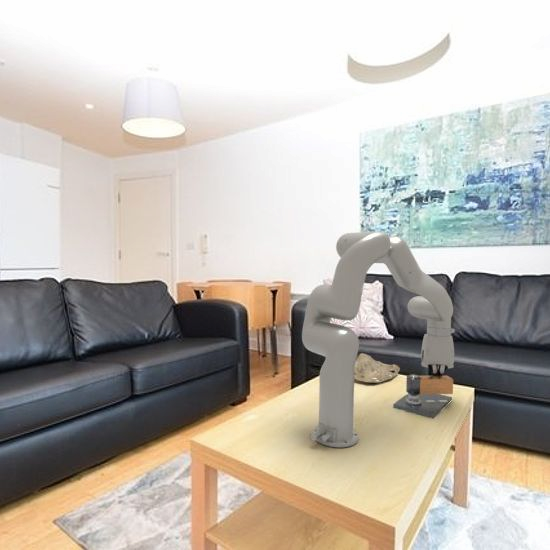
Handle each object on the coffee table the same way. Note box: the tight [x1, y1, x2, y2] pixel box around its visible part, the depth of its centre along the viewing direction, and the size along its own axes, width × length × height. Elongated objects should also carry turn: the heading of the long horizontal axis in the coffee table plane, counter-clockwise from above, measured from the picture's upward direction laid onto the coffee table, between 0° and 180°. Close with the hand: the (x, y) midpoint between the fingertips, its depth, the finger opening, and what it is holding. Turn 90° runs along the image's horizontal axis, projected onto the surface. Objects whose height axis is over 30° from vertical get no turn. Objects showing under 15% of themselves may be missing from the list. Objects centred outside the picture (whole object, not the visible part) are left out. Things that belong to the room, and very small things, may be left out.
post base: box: [392, 393, 453, 419], centre depth 132 cm, size 20×13×4 cm
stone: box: [354, 352, 401, 384], centre depth 163 cm, size 30×10×15 cm
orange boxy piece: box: [405, 374, 454, 395], centre depth 130 cm, size 15×5×6 cm, turn 92°
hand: (436, 383), depth 134 cm, fingers closed
